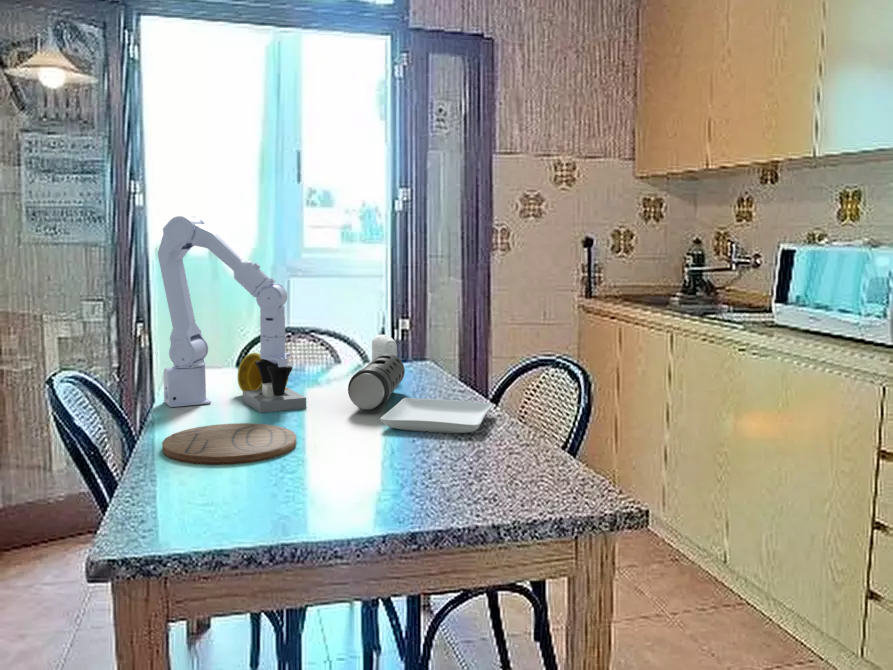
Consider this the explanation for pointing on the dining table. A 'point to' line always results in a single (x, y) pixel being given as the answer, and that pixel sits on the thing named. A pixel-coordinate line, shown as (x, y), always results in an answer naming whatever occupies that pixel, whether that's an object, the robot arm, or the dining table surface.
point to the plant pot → (250, 373)
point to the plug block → (268, 390)
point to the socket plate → (274, 401)
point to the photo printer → (383, 346)
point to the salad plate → (436, 415)
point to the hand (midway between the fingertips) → (273, 392)
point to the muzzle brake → (376, 382)
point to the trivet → (229, 444)
